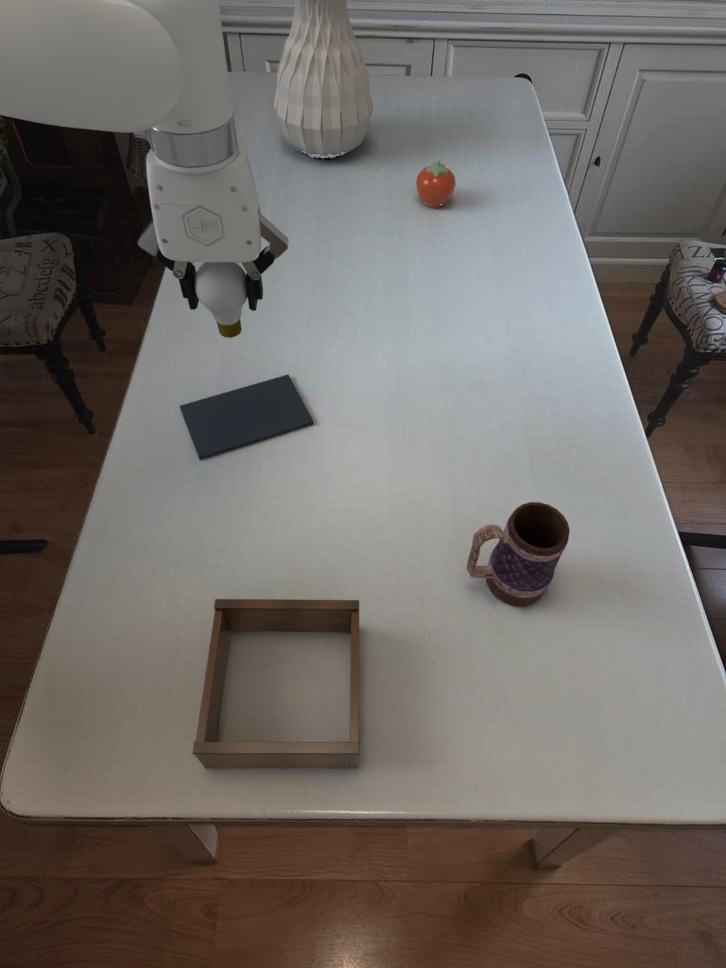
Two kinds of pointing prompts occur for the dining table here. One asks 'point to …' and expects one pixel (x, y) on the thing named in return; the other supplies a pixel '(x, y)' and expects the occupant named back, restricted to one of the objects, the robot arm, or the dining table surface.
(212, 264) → the light bulb
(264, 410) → the mat
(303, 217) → the dining table surface
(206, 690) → the brown wooden square frame
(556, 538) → the mug
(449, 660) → the dining table surface
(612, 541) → the dining table surface
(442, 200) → the tomato
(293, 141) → the vase
